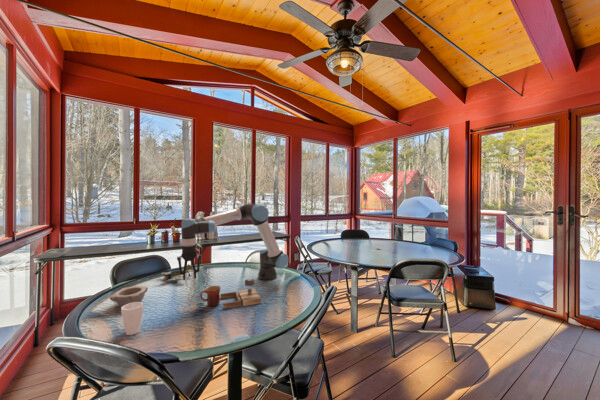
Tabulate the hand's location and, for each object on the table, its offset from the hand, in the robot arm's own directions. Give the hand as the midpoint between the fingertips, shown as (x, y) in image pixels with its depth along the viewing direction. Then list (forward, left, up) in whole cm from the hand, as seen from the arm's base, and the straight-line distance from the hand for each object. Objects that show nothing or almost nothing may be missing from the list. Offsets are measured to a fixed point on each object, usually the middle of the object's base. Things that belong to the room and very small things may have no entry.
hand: (189, 284), depth 159 cm
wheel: (0, +36, -5) cm, 36 cm away
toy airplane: (-62, -9, -15) cm, 64 cm away
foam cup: (+17, -26, -15) cm, 35 cm away
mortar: (-20, -34, -15) cm, 43 cm away
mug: (0, +12, -15) cm, 19 cm away
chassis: (0, +30, -15) cm, 33 cm away
